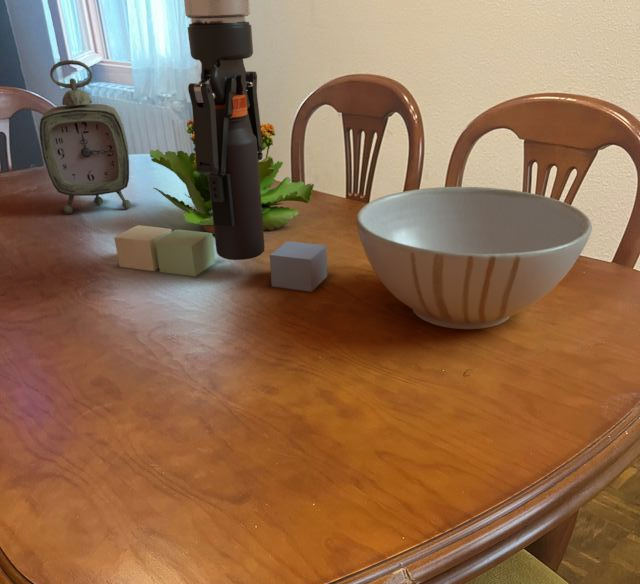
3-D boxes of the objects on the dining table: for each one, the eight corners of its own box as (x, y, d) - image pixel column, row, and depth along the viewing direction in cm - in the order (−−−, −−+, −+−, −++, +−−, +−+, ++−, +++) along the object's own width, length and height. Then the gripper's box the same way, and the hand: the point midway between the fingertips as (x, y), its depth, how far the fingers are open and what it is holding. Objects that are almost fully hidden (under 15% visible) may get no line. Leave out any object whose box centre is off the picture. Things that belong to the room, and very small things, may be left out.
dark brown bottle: (273, 247, 94) (263, 93, 83) (250, 263, 89) (236, 100, 78) (232, 242, 97) (217, 91, 85) (207, 257, 92) (188, 98, 80)
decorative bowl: (451, 385, 68) (463, 274, 62) (316, 300, 87) (313, 208, 81) (619, 323, 80) (644, 223, 73) (467, 260, 99) (476, 176, 92)
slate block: (271, 290, 91) (269, 254, 88) (288, 274, 95) (287, 240, 93) (312, 295, 89) (310, 259, 86) (327, 279, 94) (327, 245, 91)
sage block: (160, 275, 96) (154, 241, 94) (181, 261, 101) (176, 229, 98) (196, 279, 95) (191, 245, 92) (216, 265, 99) (212, 232, 96)
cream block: (120, 269, 99) (113, 237, 96) (143, 256, 103) (137, 224, 100) (154, 274, 97) (148, 241, 94) (176, 260, 101) (171, 228, 99)
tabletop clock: (57, 217, 122) (20, 64, 108) (61, 204, 129) (27, 59, 115) (137, 210, 124) (111, 60, 110) (137, 198, 132) (112, 56, 118)
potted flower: (241, 261, 100) (229, 138, 91) (126, 239, 110) (105, 126, 101) (321, 217, 118) (319, 111, 109) (216, 202, 128) (206, 103, 119)
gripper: (205, 25, 69) (228, 242, 81) (281, 15, 84) (290, 200, 97) (144, 25, 71) (175, 236, 84) (229, 16, 86) (244, 196, 99)
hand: (237, 216), depth 90 cm, fingers closed on dark brown bottle, 7 cm apart
